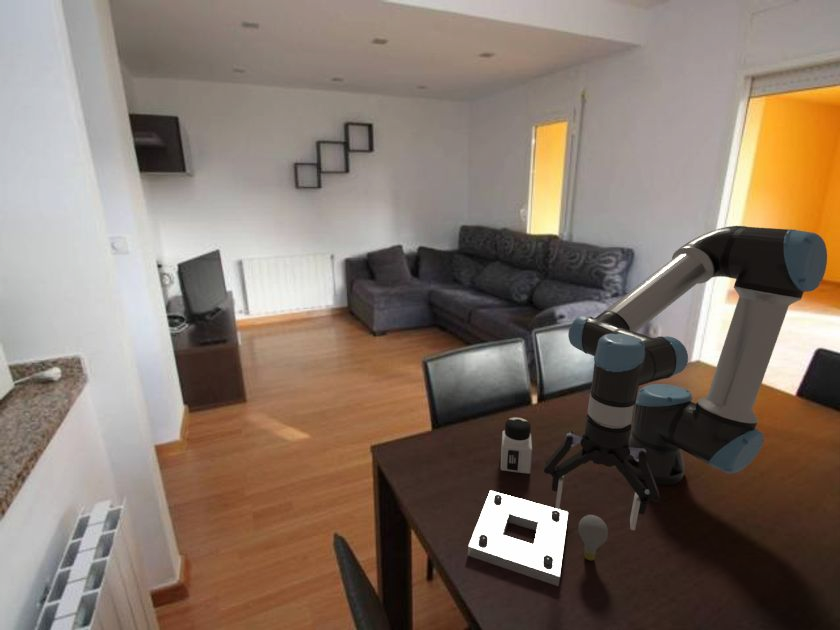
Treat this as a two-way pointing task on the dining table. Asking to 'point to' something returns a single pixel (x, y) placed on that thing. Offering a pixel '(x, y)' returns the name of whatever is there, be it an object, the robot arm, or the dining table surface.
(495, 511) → the flange
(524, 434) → the container
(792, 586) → the dining table surface
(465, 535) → the dining table surface
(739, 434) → the robot arm
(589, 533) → the light bulb
